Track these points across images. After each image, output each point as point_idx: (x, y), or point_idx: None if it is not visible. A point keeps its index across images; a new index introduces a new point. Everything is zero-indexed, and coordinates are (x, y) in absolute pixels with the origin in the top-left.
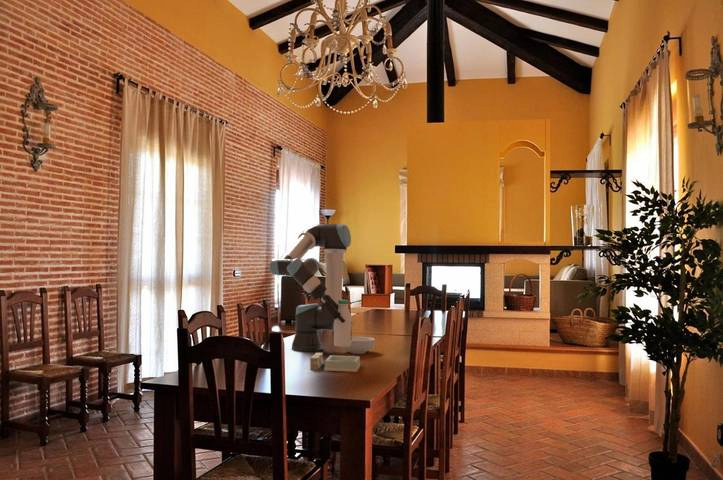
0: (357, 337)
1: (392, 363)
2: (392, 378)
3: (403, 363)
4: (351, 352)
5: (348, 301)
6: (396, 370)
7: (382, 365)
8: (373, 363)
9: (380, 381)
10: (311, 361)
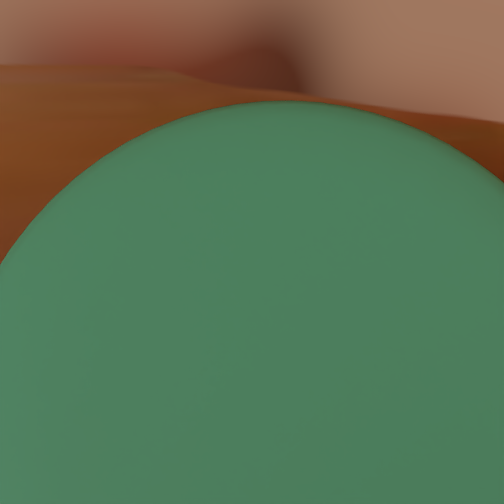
0: None
1: (18, 119)
2: (394, 109)
3: (11, 66)
4: None
5: (337, 126)
6: (212, 96)
7: (88, 166)
8: (31, 219)
9: (469, 153)
10: None
